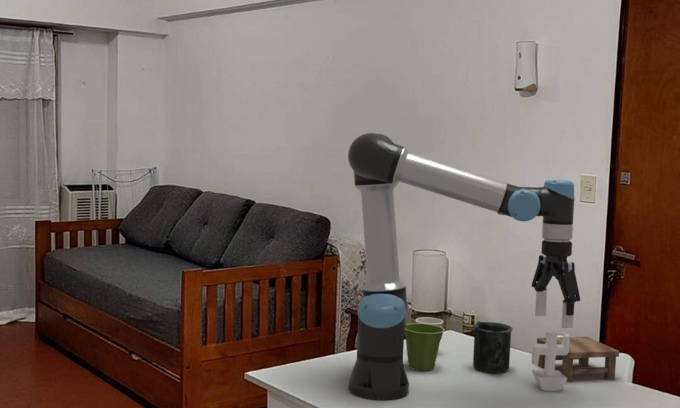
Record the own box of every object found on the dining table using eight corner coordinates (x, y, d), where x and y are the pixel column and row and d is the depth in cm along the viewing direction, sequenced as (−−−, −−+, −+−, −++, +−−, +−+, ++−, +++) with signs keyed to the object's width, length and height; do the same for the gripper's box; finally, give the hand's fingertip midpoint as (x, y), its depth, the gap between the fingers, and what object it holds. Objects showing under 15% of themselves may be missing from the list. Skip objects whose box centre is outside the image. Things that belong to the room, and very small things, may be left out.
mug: (505, 363, 220) (507, 322, 219) (517, 378, 205) (519, 335, 204) (468, 362, 220) (470, 321, 219) (477, 377, 205) (479, 333, 204)
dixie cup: (446, 352, 229) (447, 319, 229) (435, 358, 222) (436, 324, 221) (421, 347, 234) (422, 315, 233) (409, 353, 226) (410, 320, 226)
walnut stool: (564, 382, 203) (566, 353, 203) (535, 365, 219) (537, 337, 218) (617, 380, 207) (619, 351, 206) (585, 363, 223) (586, 336, 222)
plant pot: (433, 376, 205) (435, 335, 204) (393, 368, 210) (395, 328, 210) (449, 366, 215) (451, 326, 214) (411, 359, 221) (412, 320, 220)
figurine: (526, 383, 201) (529, 327, 200) (561, 384, 202) (565, 328, 200) (534, 392, 194) (537, 334, 193) (571, 393, 194) (574, 335, 193)
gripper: (597, 246, 184) (593, 332, 185) (546, 234, 208) (542, 310, 209) (569, 246, 182) (565, 333, 183) (521, 234, 206) (517, 311, 208)
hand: (553, 321), depth 196 cm, fingers open, 13 cm apart
